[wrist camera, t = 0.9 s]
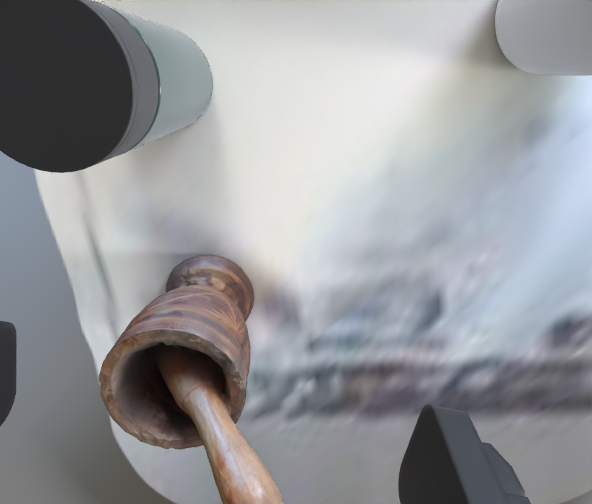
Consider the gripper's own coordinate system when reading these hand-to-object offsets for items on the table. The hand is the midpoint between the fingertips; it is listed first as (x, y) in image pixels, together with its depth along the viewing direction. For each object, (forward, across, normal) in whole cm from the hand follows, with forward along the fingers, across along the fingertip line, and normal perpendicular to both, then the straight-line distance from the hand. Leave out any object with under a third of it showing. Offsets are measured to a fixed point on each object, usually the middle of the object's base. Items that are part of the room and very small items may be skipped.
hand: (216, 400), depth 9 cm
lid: (+15, +9, -4) cm, 18 cm away
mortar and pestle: (+28, +2, +12) cm, 31 cm away
